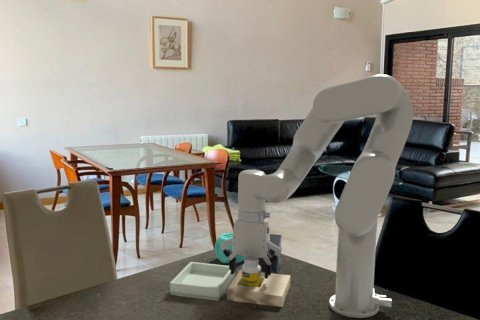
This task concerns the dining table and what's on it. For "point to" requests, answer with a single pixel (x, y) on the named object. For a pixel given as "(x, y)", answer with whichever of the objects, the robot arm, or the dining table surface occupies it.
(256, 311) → the dining table surface
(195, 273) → the tray
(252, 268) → the supplement bottle
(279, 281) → the beige flat square frame
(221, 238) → the decorative dice
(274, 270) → the small box
